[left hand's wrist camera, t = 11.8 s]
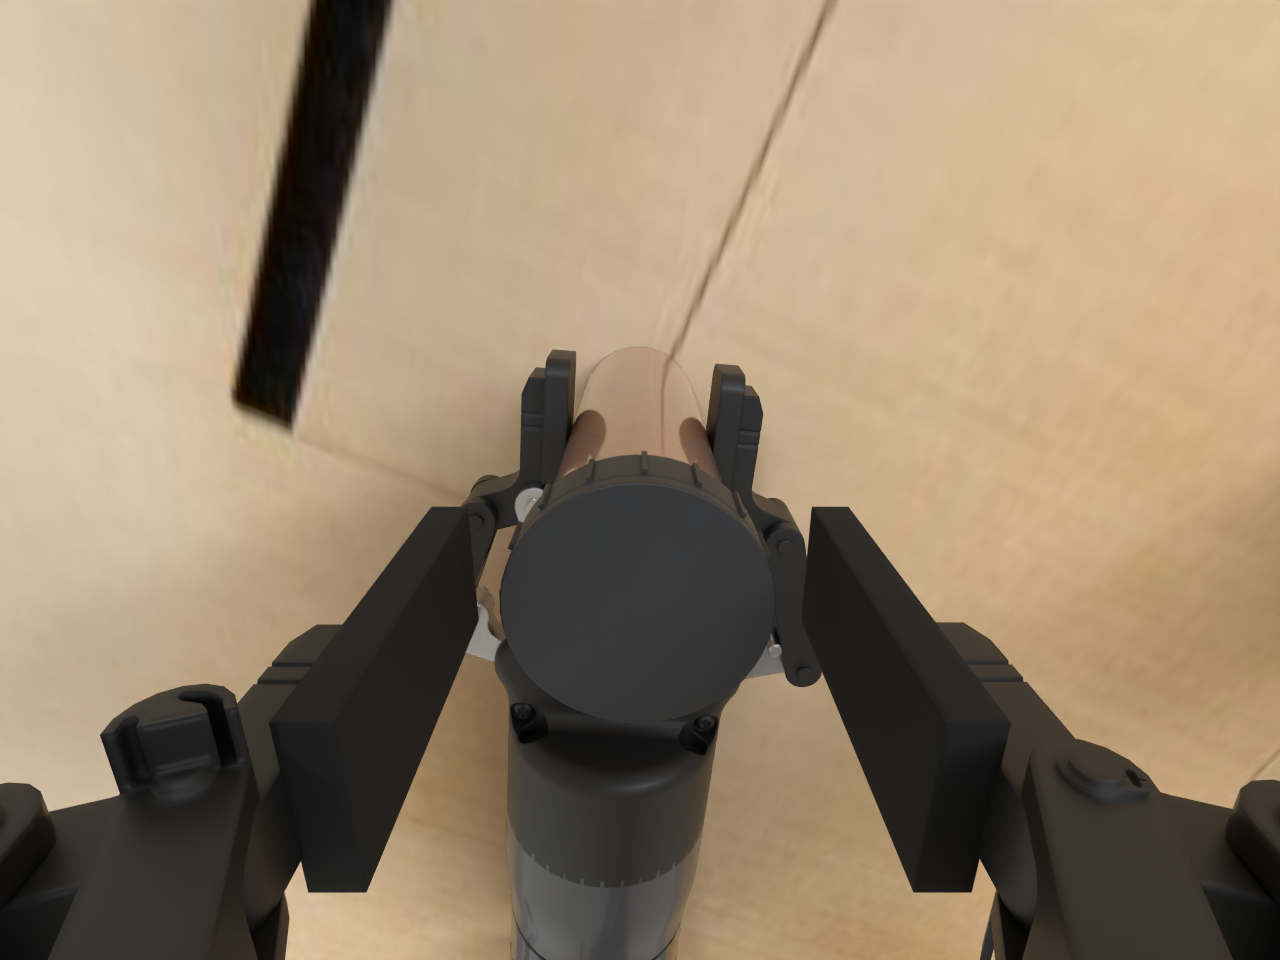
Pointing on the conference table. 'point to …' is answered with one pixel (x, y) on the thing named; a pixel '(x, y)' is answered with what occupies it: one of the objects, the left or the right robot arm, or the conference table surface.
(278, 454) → the conference table surface
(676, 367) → the tan cylinder
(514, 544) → the lid
